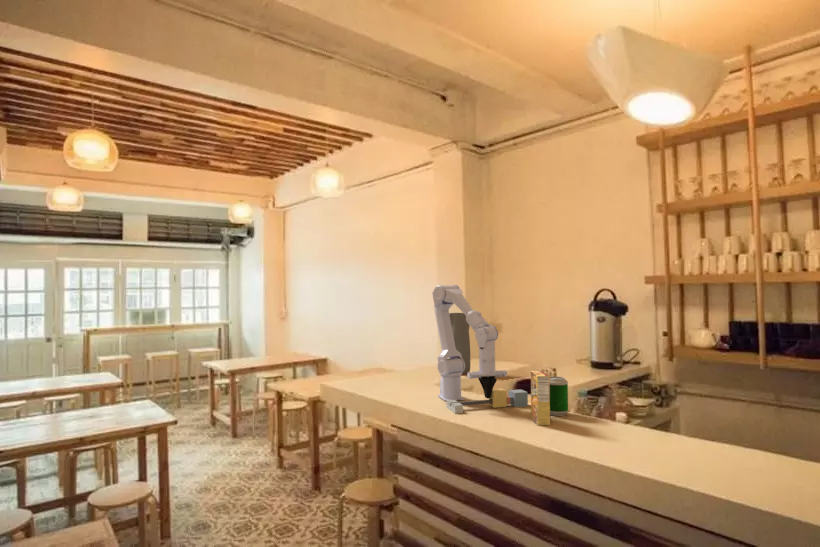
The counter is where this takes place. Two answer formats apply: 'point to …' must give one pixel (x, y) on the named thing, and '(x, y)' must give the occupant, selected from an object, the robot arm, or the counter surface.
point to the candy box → (540, 397)
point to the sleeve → (499, 398)
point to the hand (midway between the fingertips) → (487, 397)
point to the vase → (461, 337)
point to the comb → (454, 406)
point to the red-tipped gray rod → (480, 402)
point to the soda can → (558, 396)
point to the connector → (518, 398)
